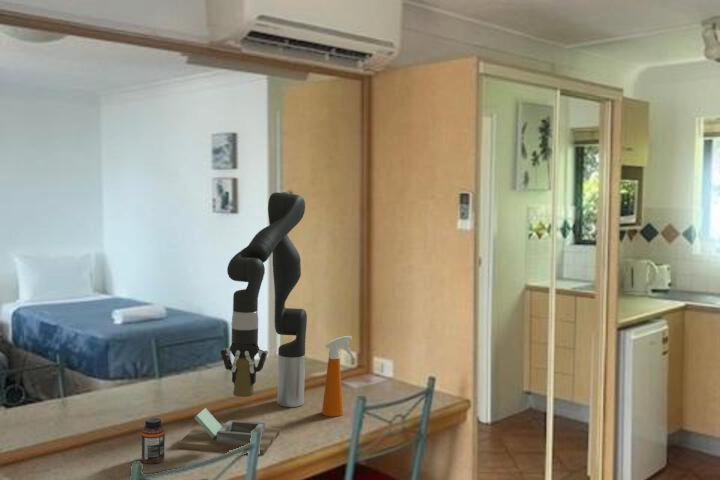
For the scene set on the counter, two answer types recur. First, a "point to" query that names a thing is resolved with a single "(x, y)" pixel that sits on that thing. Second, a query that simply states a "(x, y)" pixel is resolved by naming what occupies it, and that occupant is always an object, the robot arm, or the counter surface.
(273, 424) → the counter surface
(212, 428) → the latch flap
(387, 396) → the counter surface
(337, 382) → the spray bottle
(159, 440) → the supplement bottle
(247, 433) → the holder board
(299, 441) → the counter surface
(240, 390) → the olive knobbed cylinder
